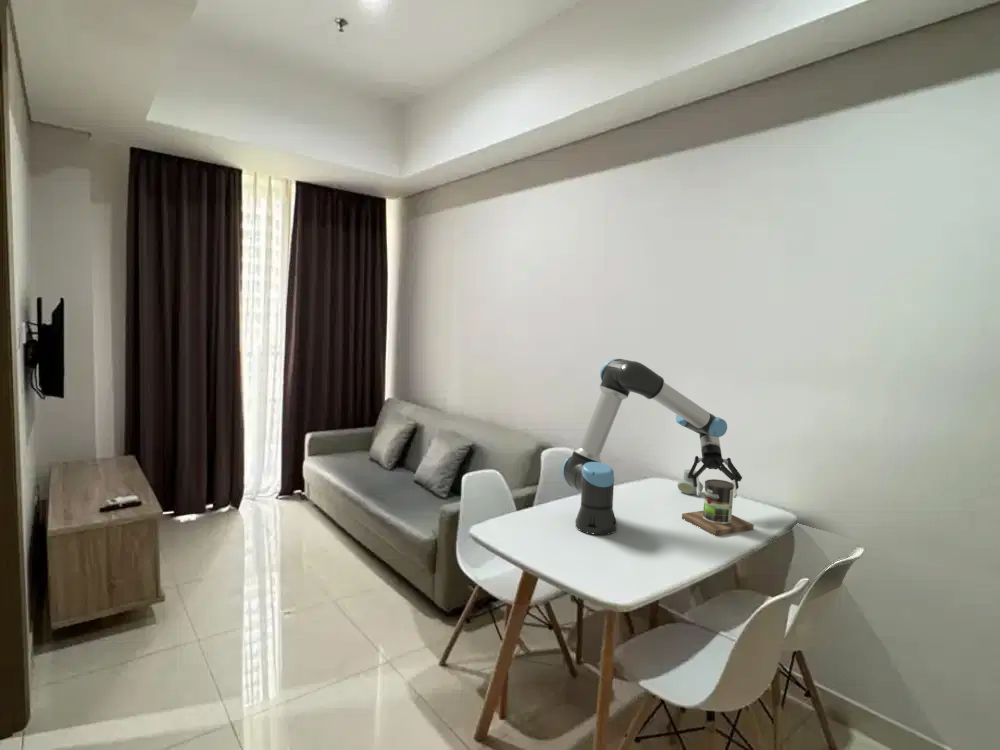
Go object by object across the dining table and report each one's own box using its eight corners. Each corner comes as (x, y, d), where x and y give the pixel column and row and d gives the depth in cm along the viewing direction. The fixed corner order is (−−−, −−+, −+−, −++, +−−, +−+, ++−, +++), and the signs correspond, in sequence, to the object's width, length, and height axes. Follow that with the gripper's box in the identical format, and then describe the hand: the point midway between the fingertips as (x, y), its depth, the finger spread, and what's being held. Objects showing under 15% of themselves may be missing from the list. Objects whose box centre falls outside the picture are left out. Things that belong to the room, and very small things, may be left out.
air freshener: (705, 493, 245) (706, 472, 244) (696, 497, 239) (698, 475, 238) (683, 487, 253) (684, 466, 252) (673, 491, 247) (675, 470, 246)
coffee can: (718, 526, 201) (720, 488, 200) (697, 516, 211) (699, 481, 209) (737, 521, 206) (740, 485, 205) (715, 512, 215) (718, 477, 214)
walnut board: (715, 535, 197) (715, 530, 197) (681, 518, 214) (682, 513, 214) (753, 529, 204) (753, 524, 203) (718, 513, 220) (718, 508, 220)
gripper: (740, 454, 226) (748, 501, 213) (678, 451, 230) (682, 497, 217) (744, 444, 220) (753, 492, 207) (680, 441, 224) (685, 488, 211)
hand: (716, 495), depth 212 cm, fingers open, 13 cm apart
